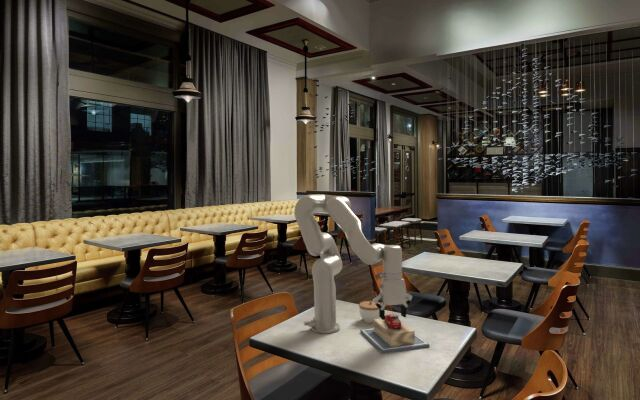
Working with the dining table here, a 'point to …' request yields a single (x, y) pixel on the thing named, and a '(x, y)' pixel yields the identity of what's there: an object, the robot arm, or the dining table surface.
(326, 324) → the robot arm
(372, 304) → the lidded jar
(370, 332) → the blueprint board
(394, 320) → the race car
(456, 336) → the dining table surface
